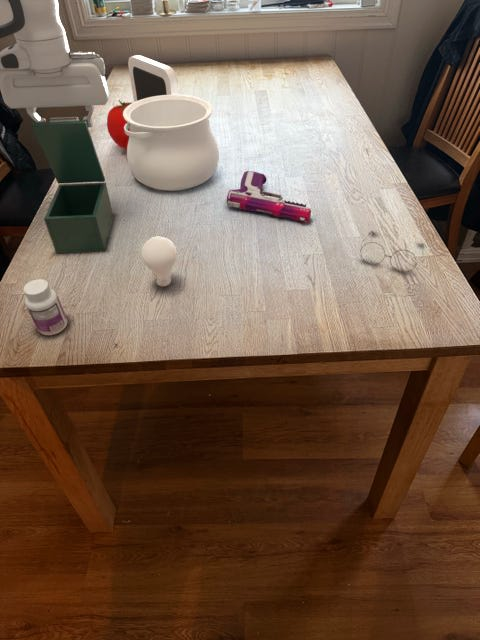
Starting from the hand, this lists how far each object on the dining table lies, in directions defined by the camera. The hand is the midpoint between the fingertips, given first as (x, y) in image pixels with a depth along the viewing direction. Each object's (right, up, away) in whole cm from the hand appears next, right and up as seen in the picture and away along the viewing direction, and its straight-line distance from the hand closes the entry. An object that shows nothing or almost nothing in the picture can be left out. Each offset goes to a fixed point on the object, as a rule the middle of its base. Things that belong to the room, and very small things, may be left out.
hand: (66, 127), depth 94 cm
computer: (+10, +23, +38) cm, 45 cm away
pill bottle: (+2, -42, -11) cm, 43 cm away
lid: (0, -5, +2) cm, 5 cm away
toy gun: (+48, -5, +22) cm, 53 cm away
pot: (+19, 0, +30) cm, 35 cm away
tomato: (+4, +12, +42) cm, 44 cm away
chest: (+1, -20, +10) cm, 23 cm away
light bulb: (+21, -33, -3) cm, 40 cm away
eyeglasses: (+69, -26, +3) cm, 74 cm away
